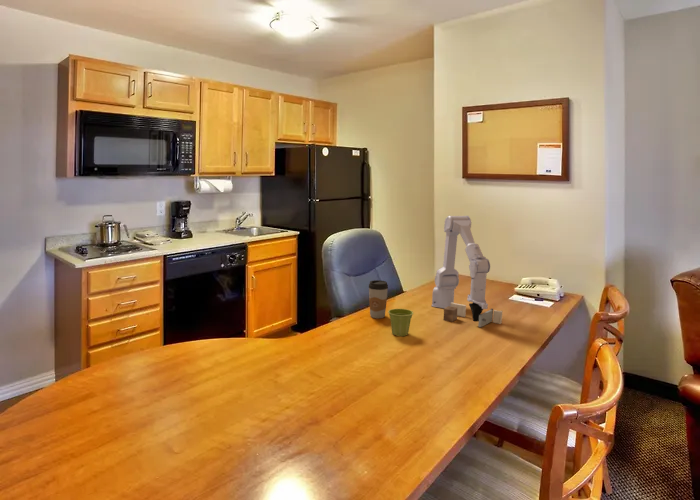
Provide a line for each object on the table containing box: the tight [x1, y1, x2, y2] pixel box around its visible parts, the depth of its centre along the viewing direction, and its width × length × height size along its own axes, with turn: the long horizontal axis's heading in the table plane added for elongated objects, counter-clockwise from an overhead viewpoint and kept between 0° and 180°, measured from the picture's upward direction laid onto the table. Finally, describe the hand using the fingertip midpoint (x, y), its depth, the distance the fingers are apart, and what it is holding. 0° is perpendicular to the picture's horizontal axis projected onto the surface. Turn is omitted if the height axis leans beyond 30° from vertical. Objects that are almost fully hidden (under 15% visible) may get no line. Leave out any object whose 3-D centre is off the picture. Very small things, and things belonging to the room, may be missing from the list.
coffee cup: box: [368, 279, 389, 319], centre depth 188 cm, size 8×8×15 cm
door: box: [478, 308, 494, 328], centre depth 180 cm, size 11×2×5 cm, turn 138°
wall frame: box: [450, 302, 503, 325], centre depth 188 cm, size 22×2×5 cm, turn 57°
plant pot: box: [387, 308, 414, 337], centre depth 167 cm, size 9×9×9 cm
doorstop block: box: [443, 306, 458, 323], centre depth 186 cm, size 4×5×5 cm
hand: (475, 321), depth 179 cm, fingers closed
